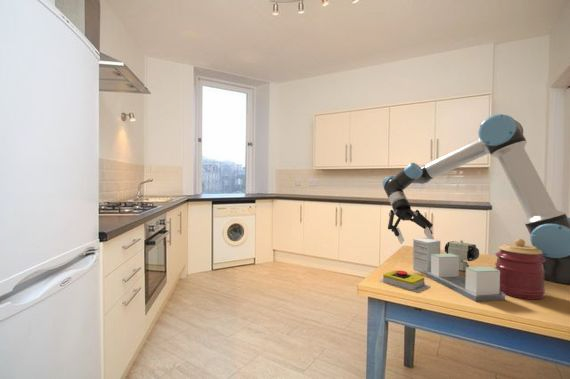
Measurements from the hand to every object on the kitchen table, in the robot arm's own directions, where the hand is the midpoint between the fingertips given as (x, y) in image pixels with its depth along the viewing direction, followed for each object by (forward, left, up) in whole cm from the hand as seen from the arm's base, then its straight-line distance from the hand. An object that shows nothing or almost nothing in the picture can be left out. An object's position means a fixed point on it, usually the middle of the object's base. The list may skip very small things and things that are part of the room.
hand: (417, 241), depth 127 cm
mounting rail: (-20, +15, -11) cm, 27 cm away
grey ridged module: (-5, +3, -11) cm, 12 cm away
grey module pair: (-20, +15, -9) cm, 26 cm away
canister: (-35, +8, -11) cm, 37 cm away
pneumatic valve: (-15, -8, -11) cm, 20 cm away
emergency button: (-4, +25, -11) cm, 27 cm away
